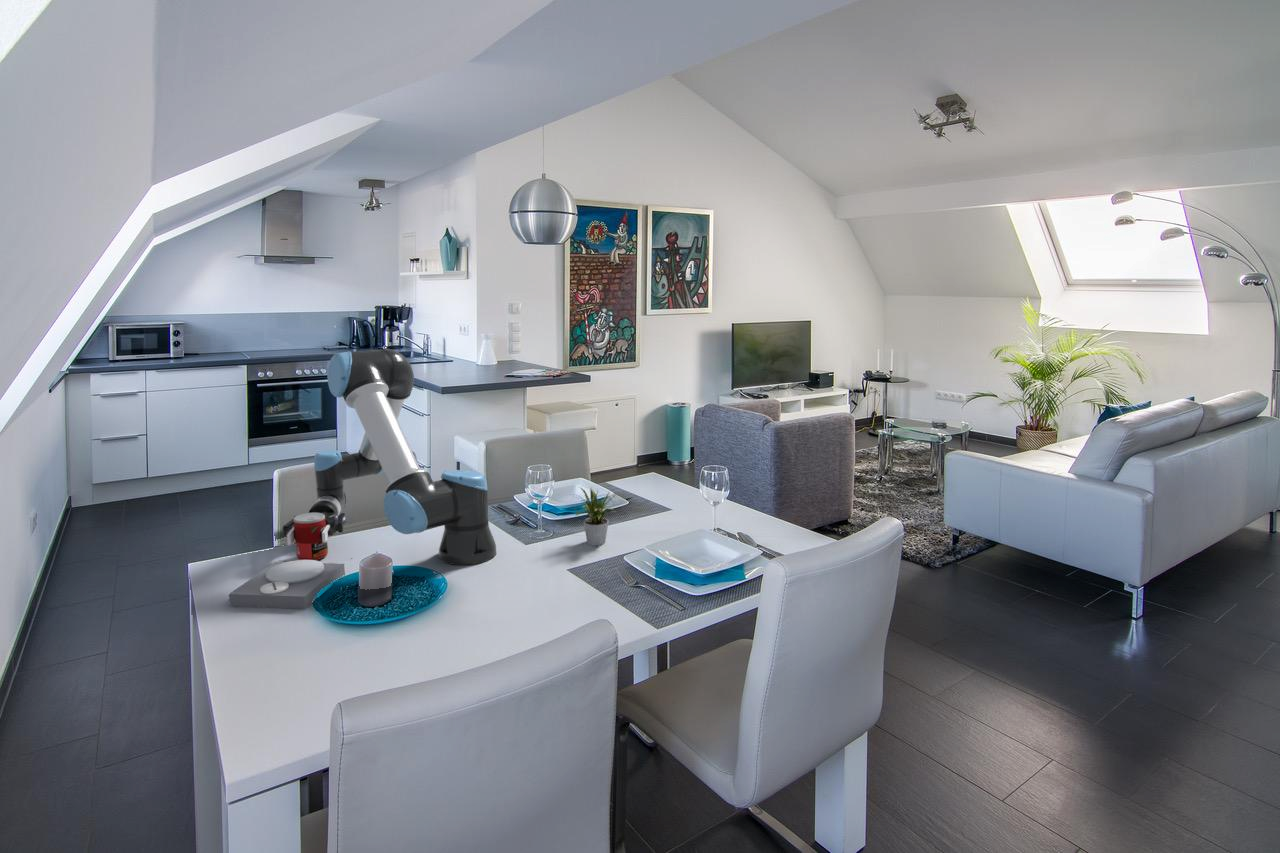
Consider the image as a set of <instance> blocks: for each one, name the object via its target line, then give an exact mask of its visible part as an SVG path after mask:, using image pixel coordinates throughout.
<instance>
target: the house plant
mask: <svg viewBox="0 0 1280 853" xmlns="http://www.w3.org/2000/svg"><path fill="white" fill-rule="evenodd" d="M578 488H579V489H580V490H581V491H582V493H583V494H584V497H585V499H586V500H584V498H582V500H583V502H584V503H583V505H581V507H582V508H584V509H585V511H584V510H581V511H580V510H579V509H577V508H575V510H576V511H578V512H576V514H575V516H578V515H580V514H582V515H584V513H586V514H587V515H589V517H587V518H585V519H584V520H583V526H584V532H585V537H586V542H587V544H588V545H591V546H602V545H603V544H605V543H606V541H607V532H608V528H609V519H607V518H606V517H607V516H609V514H612V513H617V511H615V509H614V508H605V507H606V506H607V504H609V503H610V501H611V500H612V499H613V498H615V497H616V496H618V495H620V493H617V494H615V495H613V496H612V497H611V498H610V499H609V500H607V499H608V496H609V494H610V491H608V493H607V495H605V498H604V499H601V500H600V501H598V494H599V491H597V493H596V492H595V491H594V490H593V489H592V487H591V486H590V487H589V491H590V498H589V496H588V494H587V492H586V490H585V489H584V488H582V487H580V486H578ZM570 495H573V496H575V494H573V493H570ZM576 496H577V497H575V498H577V499H578V497H580V498H581V496H580V495H576ZM606 500H607V501H606ZM610 510H612V511H611V512H608V511H610ZM607 512H608V513H607ZM606 513H607V514H606ZM605 514H606V515H605ZM604 515H605V517H604Z"/></svg>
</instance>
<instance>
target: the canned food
mask: <svg viewBox="0 0 1280 853" xmlns="http://www.w3.org/2000/svg"><path fill="white" fill-rule="evenodd" d="M294 516H295V517H294ZM294 516H293V518H294V520H293V521H294V532H295V540H294V543H295V551H296V556H297V560H316V561H319V560H321V559H323V558H325V557H326V556H328V552H329V548H328V540H327V541H326V542H324V543H323V540H322V532H323V530H324V529H325V527H326V521H325V515H324V514H322V513H309V512H305V513H301V514H298V515H294Z"/></svg>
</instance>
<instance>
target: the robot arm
mask: <svg viewBox="0 0 1280 853" xmlns="http://www.w3.org/2000/svg"><path fill="white" fill-rule="evenodd" d="M327 366H328V368H327V385H328V389H329V391H330V393H331V395H332V396H334V397H335V398H342V399H343V400H344V402H345V404H346V406H348V407H349V408H351V409H353V410H355V411H356V414H357V416H358V418H359V421H360V423H361V425H362V428H363V430H364V434H363V438H362V441H361V444H360V446H359V450H358V452H355V453H354V452H353V453H349V454H344V455H342V454H341V452H340V451H339V450H336V449H334V450H333V449H330V450H322V451H319V452H316V453H315V455H314V459H313V460H314V461H313V462H314V464H313V466H314V467H313V468H314V476H315V482H316V483H315V484H316V497H317V499H316V501H315V502H314V503H313V504H312V506H311V508H309V511H308V513H322V514H324V515H325V521H326V527H325V529H324V530H323V532H322V540H323V543H324V542H326V541H327V542H328V540H329V539H330V537H332V536H333V535H334V534H336V532H338V533H344V524H345V523H347V522H346V513H343V512H342V511H343V510H344V508H345V506H346V504H347V500H348V498H347V493H346V491H345V490H344V489H345V488H344V481H348V480H352V479H357V478H361V477H368V476H373V475H378V474H381V473H383V474H384V476H385V478H386V481H387V482H388V484H387V486H386V488H385V495H384V497H383V500H382V505H383V508H384V510H383V512H384V514H385V517H386V520H387V522H388V523H389V524H390V526H391V527H392V529H394V530H395V531H396V532H398V533H401V534H403V535H410V534H420V533H423V532H425V531H428V530H432V529H434V528H435V529H436V528H439V527H442V526H443V527H444V531H443V533H442V537H441V540H440V544H439V548H438V556H439V557H438V558H439V559H440V561H442V562H443V563H447V564H448V565H450V564H451V565H456V566H457V565H459V566H461V565H462V566H464V565H475V564H481V563H483V562H487V561H489V560H492V559H493V558H494V557H495V556H496V555H497V545H496V541H495V539H494V535H493V534H492V531H491V528H490V526H489V524H490V523H489V504H488V503H489V500H488V491H489V489H488V483H487V478H486V476H485V474H483V473H480V472H477V471H472V470H465V469H451V470H445V471H443V472H442V473H441V476H440V478H441V479H440V480H436V481H434V480H433V478H432V477H431V475H430V473H429V471H428V470H424V469H422V468H421V467H420V465H419V464H418V461H417V459H416V457H415V454H414V453H413V451H412V448H411V446H410V444H409V441H408V440H407V437H406V436H405V433H404V431H403V429H402V427H401V425H400V423H399V420H398V418H399V416H400V414H401V410H402V407H403V405H404V402H405V400H406V399H407V400H408V398H409V397H411V393H412V391H413V387H414V383H415V382H414V381H415V378H414V376H415V375H414V371H413V367H412V365H411V364H410V362H409V360H408V359H407V358H406V357H405V356H404V355H403V354H402V353H400V352H398V351H397V350H394V349H390V348H381V349H370V350H360V351H359V350H358V351H357V350H356V351H350V350H348V351H345V352H338V353H335V354H334V355H333V356H331V358H330V360H329V363H328V365H327ZM341 512H342V513H341ZM295 516H296V515H294V516H293V518H292V519H291V520H290V521H288V522H286V523H285V524H284V525H282V534H283V536H284V537H286V539H287V545H288V546H291V545H292V544H293V542H295V532H294V521H293V520H294V517H295ZM336 522H337V524H336Z"/></svg>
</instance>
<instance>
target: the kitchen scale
mask: <svg viewBox="0 0 1280 853" xmlns="http://www.w3.org/2000/svg"><path fill="white" fill-rule="evenodd" d="M343 575H344V576H346V571H345V563H330V562H326V563H325V562H322V561H319V560H300V559H297V560H290V561H275V562H273V563H271V564H270V565H268V566H267V567H266V568H264V569H263V570H261V571H260V572H259V573H257V574H255V575H254V576H253V577H251V578H250V579H248V580H247V581H246V582H244V583H243V584H241V585H240V586H238V587H237V588H236V589H234V590H232V591H231V592H230V593H228V600H229V607H236V608H239V607H240V608H241V607H242V608H244V607H245V608H269V609H270V608H271V609H273V608H274V609H299V610H306V609H307V608H309V606H311V605H312V604H313V603H312V601H313V599H314V597H315V596H316V595H317V593H318V592H319V591H320V590H321V589H322V588H324V587H325V586H327V585H328V584H330V583H331V582H333V581H334V580H336V579H338V578H340V577H342V576H343ZM344 576H343V577H344ZM343 577H342V578H343Z"/></svg>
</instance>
